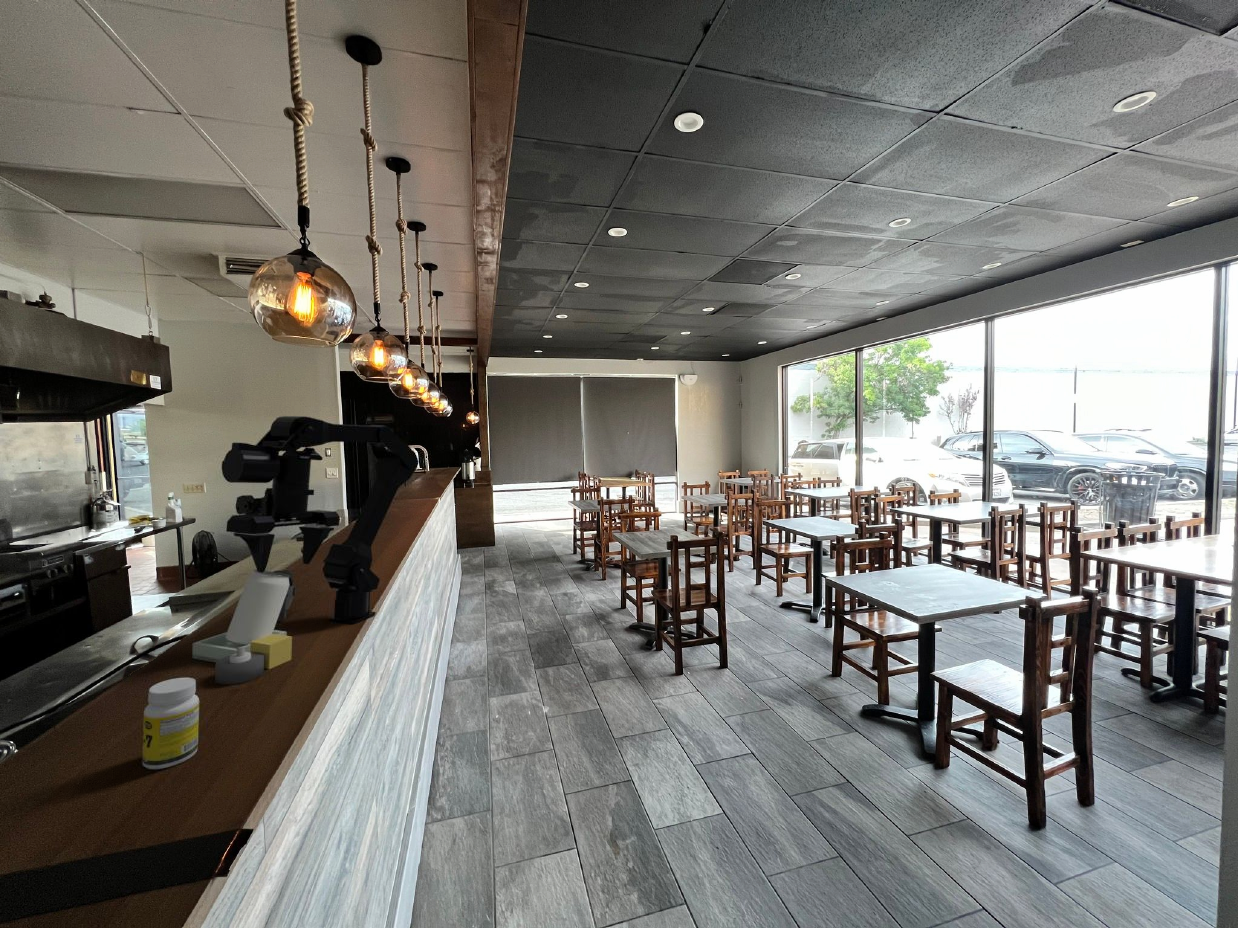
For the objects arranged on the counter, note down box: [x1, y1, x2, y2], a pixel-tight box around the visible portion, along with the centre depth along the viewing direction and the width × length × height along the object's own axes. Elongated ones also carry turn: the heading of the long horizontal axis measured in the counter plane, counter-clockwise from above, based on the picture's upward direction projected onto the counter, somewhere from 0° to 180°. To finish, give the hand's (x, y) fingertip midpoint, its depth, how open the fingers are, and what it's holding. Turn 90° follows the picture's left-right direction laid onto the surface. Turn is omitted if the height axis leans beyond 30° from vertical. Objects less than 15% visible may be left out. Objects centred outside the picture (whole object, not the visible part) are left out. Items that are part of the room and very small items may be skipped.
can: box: [226, 569, 290, 645], centre depth 88 cm, size 6×6×12 cm
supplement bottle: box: [141, 677, 200, 770], centre depth 56 cm, size 5×5×8 cm
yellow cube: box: [250, 634, 293, 670], centre depth 82 cm, size 4×4×4 cm
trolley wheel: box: [214, 646, 265, 685], centre depth 77 cm, size 6×6×4 cm
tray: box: [192, 629, 288, 663], centre depth 86 cm, size 9×9×2 cm
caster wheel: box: [272, 569, 297, 622], centre depth 104 cm, size 6×10×15 cm
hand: (284, 567), depth 91 cm, fingers open, 9 cm apart
